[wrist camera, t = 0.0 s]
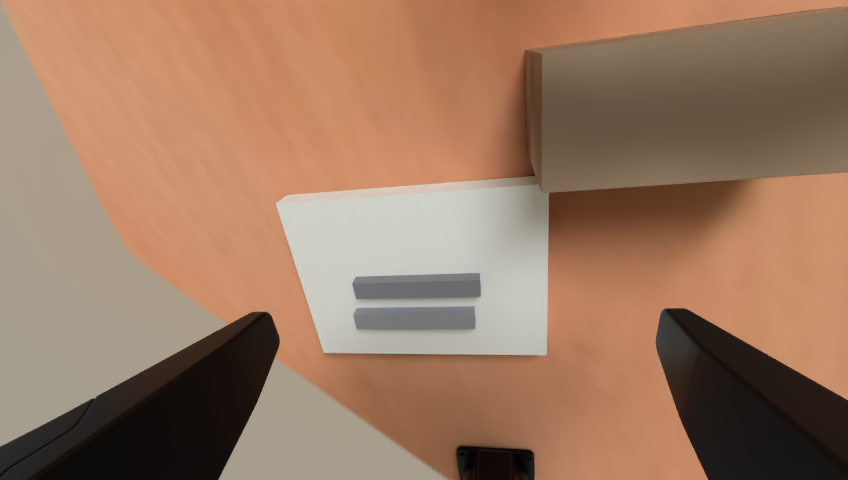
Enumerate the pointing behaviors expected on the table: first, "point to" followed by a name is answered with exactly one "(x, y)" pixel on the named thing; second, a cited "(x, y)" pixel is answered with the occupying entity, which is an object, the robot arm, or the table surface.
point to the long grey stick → (415, 318)
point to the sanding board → (426, 261)
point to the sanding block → (692, 104)
